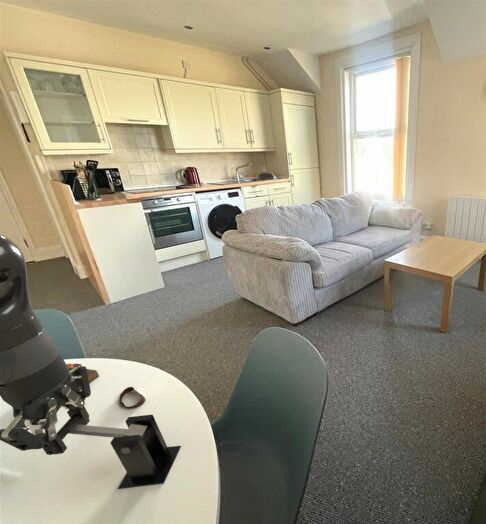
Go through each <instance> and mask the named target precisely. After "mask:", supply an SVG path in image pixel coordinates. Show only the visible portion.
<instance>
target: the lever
mask: <svg viewBox="0 0 486 524" xmlns="http://www.w3.org/2000/svg"><path fill="white" fill-rule="evenodd" d="M80 419H81V416H80V415H77V414H75V415H73V416H72V417H71V418H70V417H69V419H67V421H66V422H64V424H63V425H62V426H61V427H60V428H59V429H58V431H56V434H57V435H59V436H60V437H61V439H62V440H63V441H64V439H65V438H66V437H67V436H68V435H80V436H81V435H82V436H92V437H101V438H103V437H104V438H112V439H113V438H114V437H123V436H132V435H140V436H141V438H142V440H143V441H144V439H145V437H146V436H147V426H146V425H136V424H131V425H130V426H129V428H128V427H127V428H119V427H109V426H98V425H88V424H87V425H77V423H78V422H79V420H80Z"/></svg>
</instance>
